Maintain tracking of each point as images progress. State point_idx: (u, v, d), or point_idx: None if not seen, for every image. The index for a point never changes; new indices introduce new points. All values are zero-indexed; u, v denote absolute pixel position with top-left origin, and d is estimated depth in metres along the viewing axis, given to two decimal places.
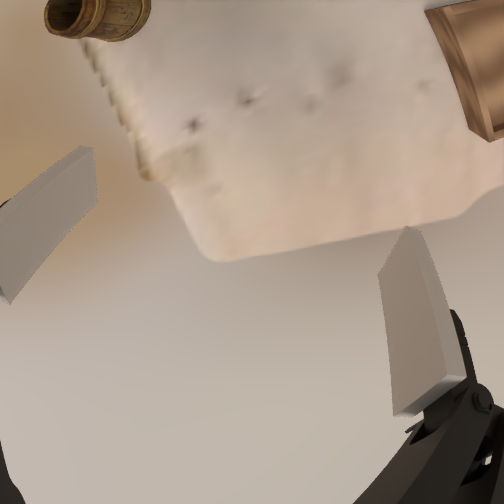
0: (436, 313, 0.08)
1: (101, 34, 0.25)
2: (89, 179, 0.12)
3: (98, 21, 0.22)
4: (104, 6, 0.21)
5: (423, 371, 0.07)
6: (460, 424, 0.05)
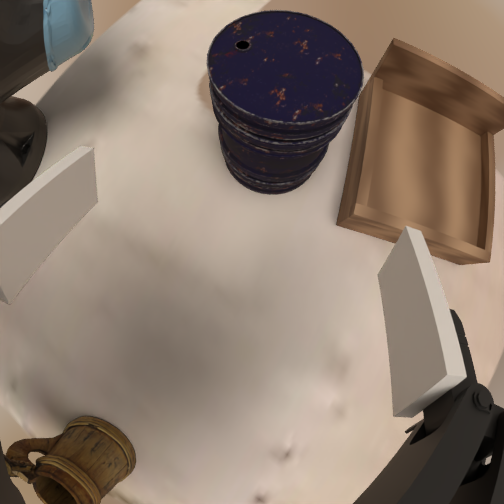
0: (436, 313, 0.08)
1: (109, 490, 0.23)
2: (89, 179, 0.12)
3: (97, 493, 0.20)
4: (89, 478, 0.20)
5: (423, 371, 0.07)
6: (460, 424, 0.05)
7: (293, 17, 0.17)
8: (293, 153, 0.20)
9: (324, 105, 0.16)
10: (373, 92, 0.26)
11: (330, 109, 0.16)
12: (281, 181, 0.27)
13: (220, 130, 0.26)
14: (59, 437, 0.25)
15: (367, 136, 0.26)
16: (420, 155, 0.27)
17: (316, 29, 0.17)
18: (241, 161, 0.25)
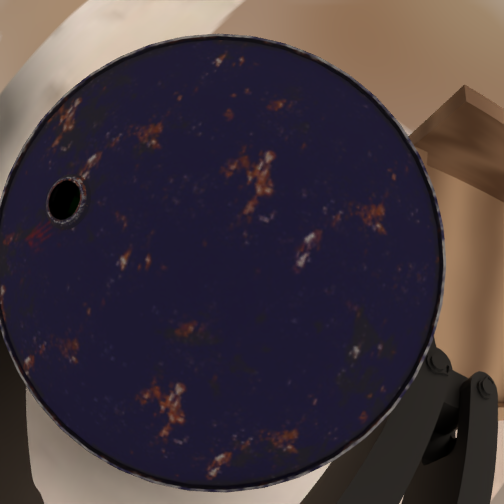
0: None
1: None
2: None
3: None
4: None
5: None
6: (415, 390, 0.06)
7: (235, 55, 0.06)
8: None
9: (304, 431, 0.05)
10: None
11: (320, 441, 0.05)
12: None
13: None
14: None
15: None
16: (469, 282, 0.16)
17: (308, 98, 0.06)
18: None
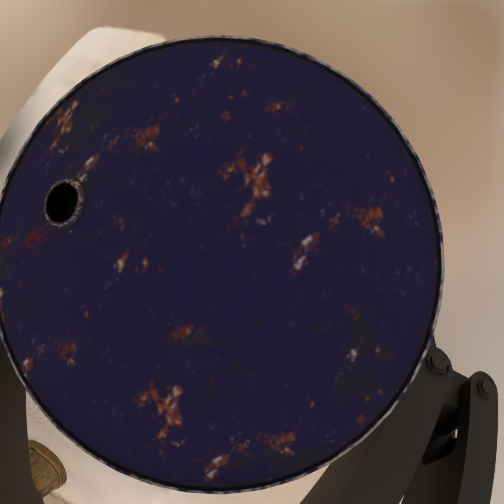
0: None
1: (45, 495, 0.27)
2: None
3: None
4: None
5: None
6: (415, 389, 0.06)
7: (233, 57, 0.06)
8: None
9: (301, 434, 0.05)
10: None
11: (317, 444, 0.05)
12: None
13: None
14: None
15: None
16: None
17: (306, 99, 0.06)
18: None
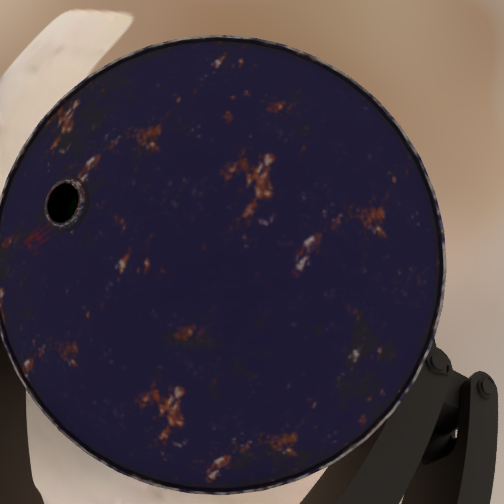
0: None
1: None
2: None
3: None
4: None
5: None
6: (415, 389, 0.06)
7: (235, 57, 0.06)
8: None
9: (303, 435, 0.05)
10: None
11: (319, 444, 0.05)
12: None
13: None
14: None
15: None
16: None
17: (308, 100, 0.06)
18: None
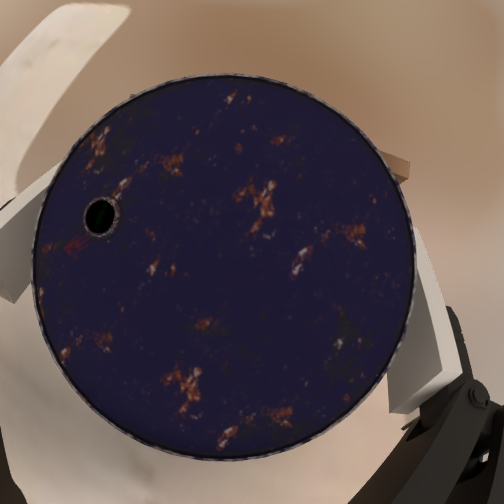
0: (432, 309, 0.08)
1: None
2: None
3: None
4: None
5: (419, 367, 0.07)
6: (456, 420, 0.05)
7: (244, 93, 0.07)
8: None
9: (297, 409, 0.07)
10: None
11: (310, 418, 0.07)
12: None
13: None
14: None
15: None
16: None
17: (305, 133, 0.07)
18: None
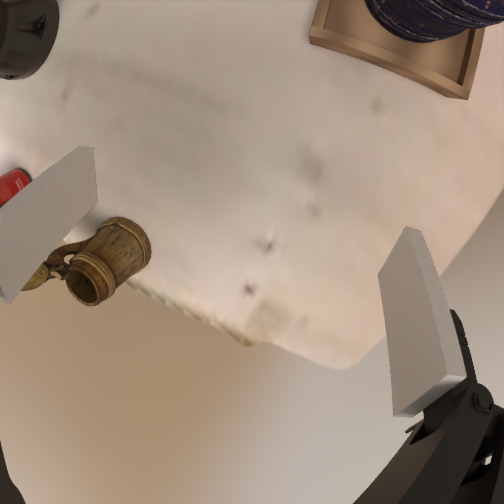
0: (436, 313, 0.08)
1: (125, 278, 0.40)
2: (89, 179, 0.12)
3: (112, 278, 0.36)
4: (106, 266, 0.36)
5: (423, 371, 0.07)
6: (460, 424, 0.05)
7: None
8: (464, 26, 0.13)
9: None
10: None
11: None
12: (431, 37, 0.18)
13: None
14: (90, 239, 0.41)
15: None
16: None
17: None
18: (397, 12, 0.17)
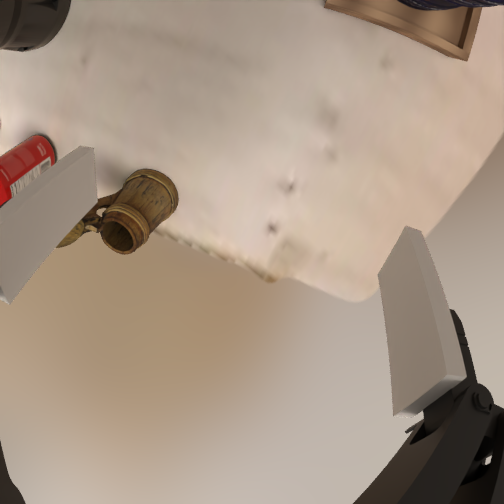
0: (436, 313, 0.08)
1: (157, 225, 0.44)
2: (89, 179, 0.12)
3: (147, 225, 0.40)
4: (140, 214, 0.39)
5: (423, 371, 0.07)
6: (460, 424, 0.05)
7: None
8: (465, 5, 0.13)
9: None
10: None
11: None
12: (436, 8, 0.18)
13: None
14: (119, 192, 0.44)
15: None
16: None
17: None
18: None
